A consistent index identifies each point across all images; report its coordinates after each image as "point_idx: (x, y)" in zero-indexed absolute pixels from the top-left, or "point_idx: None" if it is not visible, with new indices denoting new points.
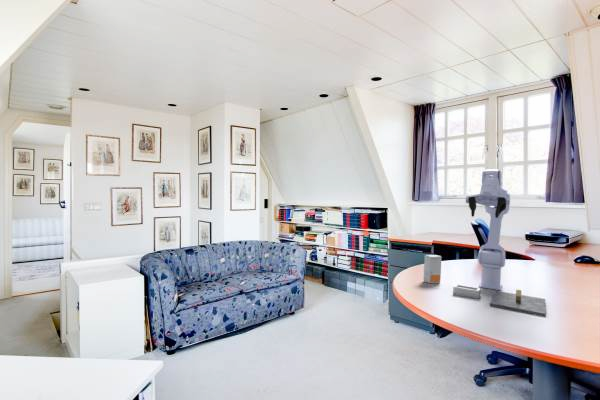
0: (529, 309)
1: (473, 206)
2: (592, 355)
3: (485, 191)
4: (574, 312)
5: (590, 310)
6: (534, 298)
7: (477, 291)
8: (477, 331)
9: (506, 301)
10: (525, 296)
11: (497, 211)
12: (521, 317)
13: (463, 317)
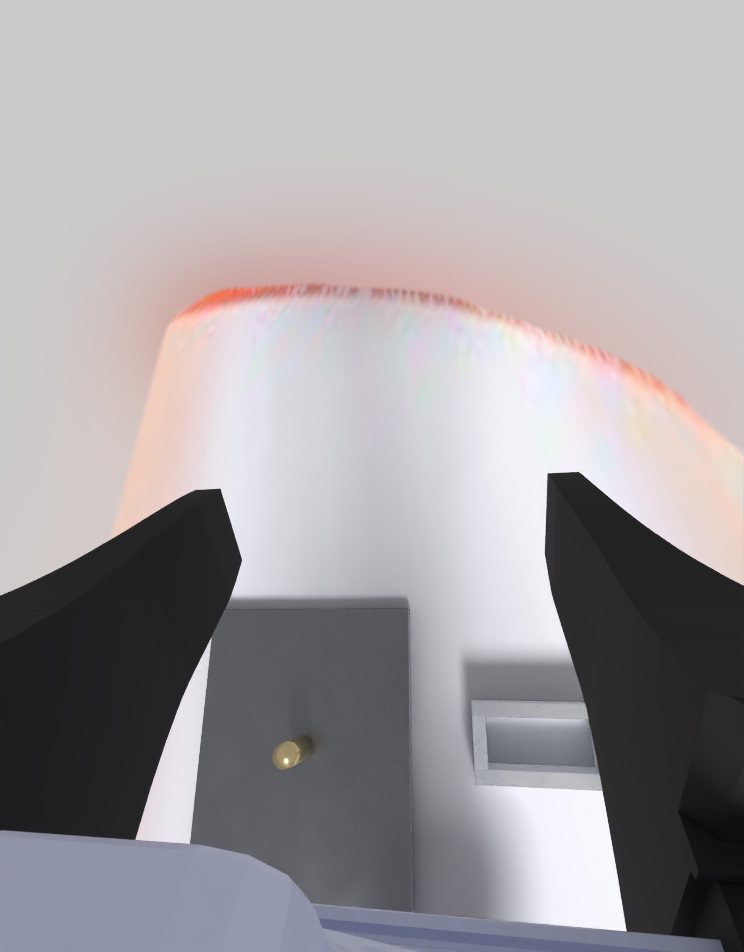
0: (264, 628)
1: (598, 533)
2: (162, 355)
3: (156, 855)
4: None
5: None
6: None
7: (478, 702)
8: (405, 310)
9: (348, 695)
10: None
11: (173, 504)
12: (296, 539)
13: (466, 394)
